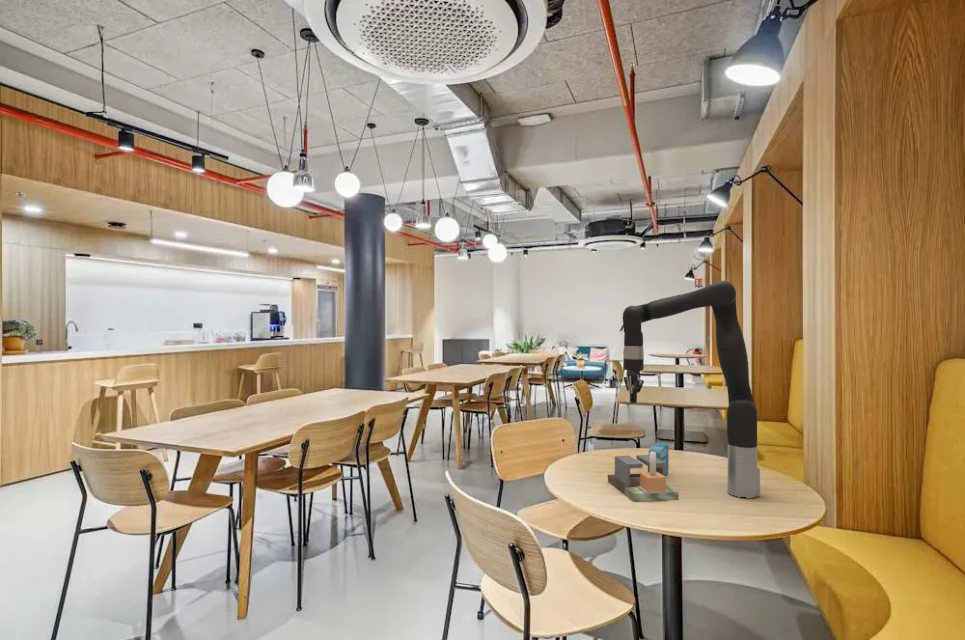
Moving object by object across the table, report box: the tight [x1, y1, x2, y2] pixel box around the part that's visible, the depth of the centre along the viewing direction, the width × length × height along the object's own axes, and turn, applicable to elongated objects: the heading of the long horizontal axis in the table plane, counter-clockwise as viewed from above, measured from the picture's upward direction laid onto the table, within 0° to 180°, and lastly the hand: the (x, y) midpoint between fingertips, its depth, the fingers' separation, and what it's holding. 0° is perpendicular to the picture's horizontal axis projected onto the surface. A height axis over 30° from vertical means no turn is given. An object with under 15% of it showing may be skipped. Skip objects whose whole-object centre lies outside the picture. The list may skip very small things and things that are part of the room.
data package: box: [648, 443, 670, 478], centre depth 195 cm, size 12×4×12 cm, turn 146°
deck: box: [607, 473, 680, 503], centre depth 179 cm, size 16×22×2 cm
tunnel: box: [614, 454, 665, 487], centre depth 181 cm, size 14×11×8 cm
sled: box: [638, 452, 668, 494], centre depth 171 cm, size 8×6×13 cm
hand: (633, 402), depth 193 cm, fingers closed
